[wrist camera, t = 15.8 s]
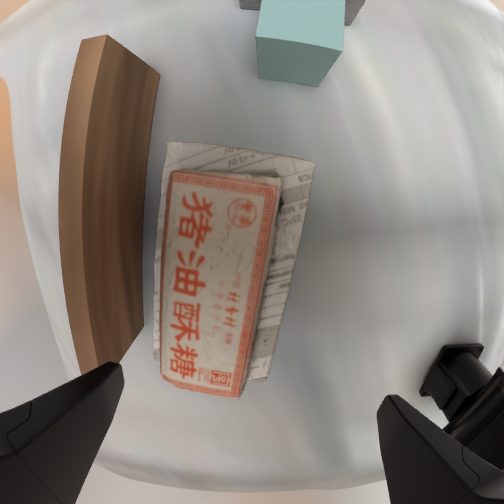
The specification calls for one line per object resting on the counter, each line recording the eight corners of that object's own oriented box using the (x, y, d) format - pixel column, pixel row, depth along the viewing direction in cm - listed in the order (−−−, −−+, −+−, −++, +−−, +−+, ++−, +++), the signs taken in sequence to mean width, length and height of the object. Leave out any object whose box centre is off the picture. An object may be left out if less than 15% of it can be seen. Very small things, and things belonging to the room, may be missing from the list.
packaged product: (265, 412, 20) (139, 386, 20) (266, 373, 24) (157, 352, 24) (328, 160, 14) (146, 134, 14) (313, 161, 19) (172, 140, 19)
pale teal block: (323, 29, 16) (345, -21, 9) (317, 87, 17) (342, 51, 10) (267, 20, 16) (268, -34, 9) (258, 78, 17) (255, 36, 10)
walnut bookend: (160, 74, 17) (107, 34, 9) (143, 326, 23) (102, 387, 15) (96, 79, 17) (31, 55, 9) (89, 313, 23) (40, 362, 15)
